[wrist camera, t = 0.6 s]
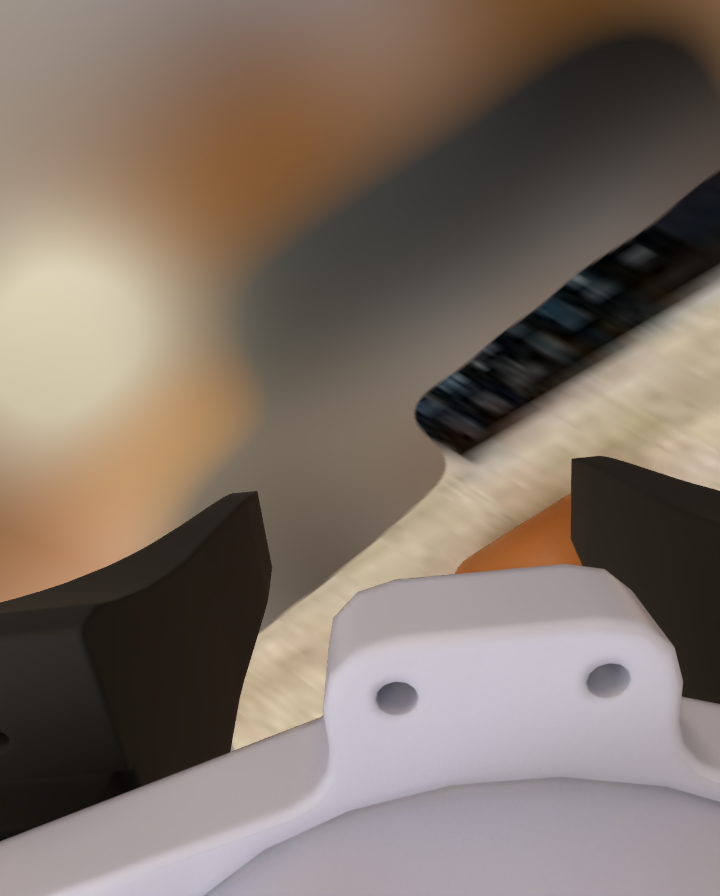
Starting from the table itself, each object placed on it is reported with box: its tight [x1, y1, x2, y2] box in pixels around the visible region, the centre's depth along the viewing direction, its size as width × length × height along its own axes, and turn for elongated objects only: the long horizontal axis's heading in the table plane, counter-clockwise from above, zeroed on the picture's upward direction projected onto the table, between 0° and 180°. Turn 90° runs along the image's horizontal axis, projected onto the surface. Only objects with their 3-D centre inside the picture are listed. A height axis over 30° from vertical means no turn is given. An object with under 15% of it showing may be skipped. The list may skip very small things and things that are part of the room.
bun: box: [455, 494, 582, 574], centre depth 33 cm, size 11×5×5 cm, turn 122°
